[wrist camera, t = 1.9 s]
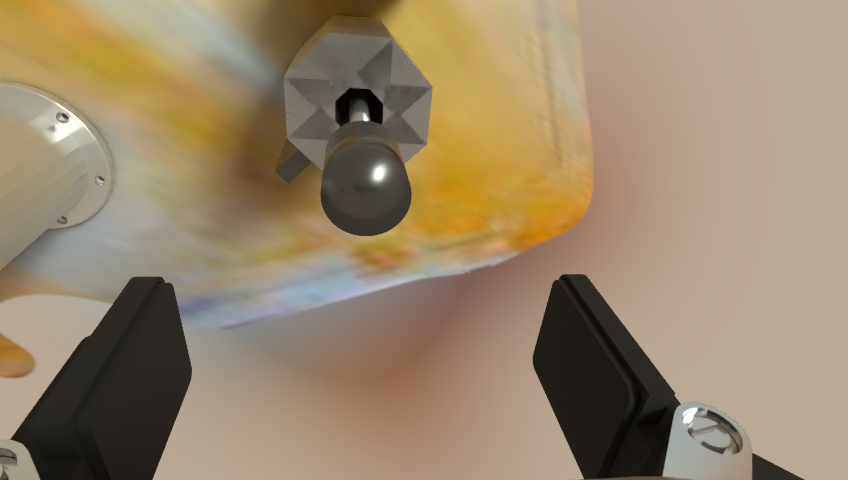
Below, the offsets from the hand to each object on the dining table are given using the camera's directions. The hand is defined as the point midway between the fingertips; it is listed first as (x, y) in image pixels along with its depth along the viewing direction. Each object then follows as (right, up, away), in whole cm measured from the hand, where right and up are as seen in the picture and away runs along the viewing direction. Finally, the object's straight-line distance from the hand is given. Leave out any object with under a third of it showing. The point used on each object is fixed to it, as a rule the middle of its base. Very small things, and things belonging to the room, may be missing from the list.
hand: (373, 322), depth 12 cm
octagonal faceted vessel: (-6, +15, +28) cm, 32 cm away
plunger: (-3, +12, +21) cm, 25 cm away
